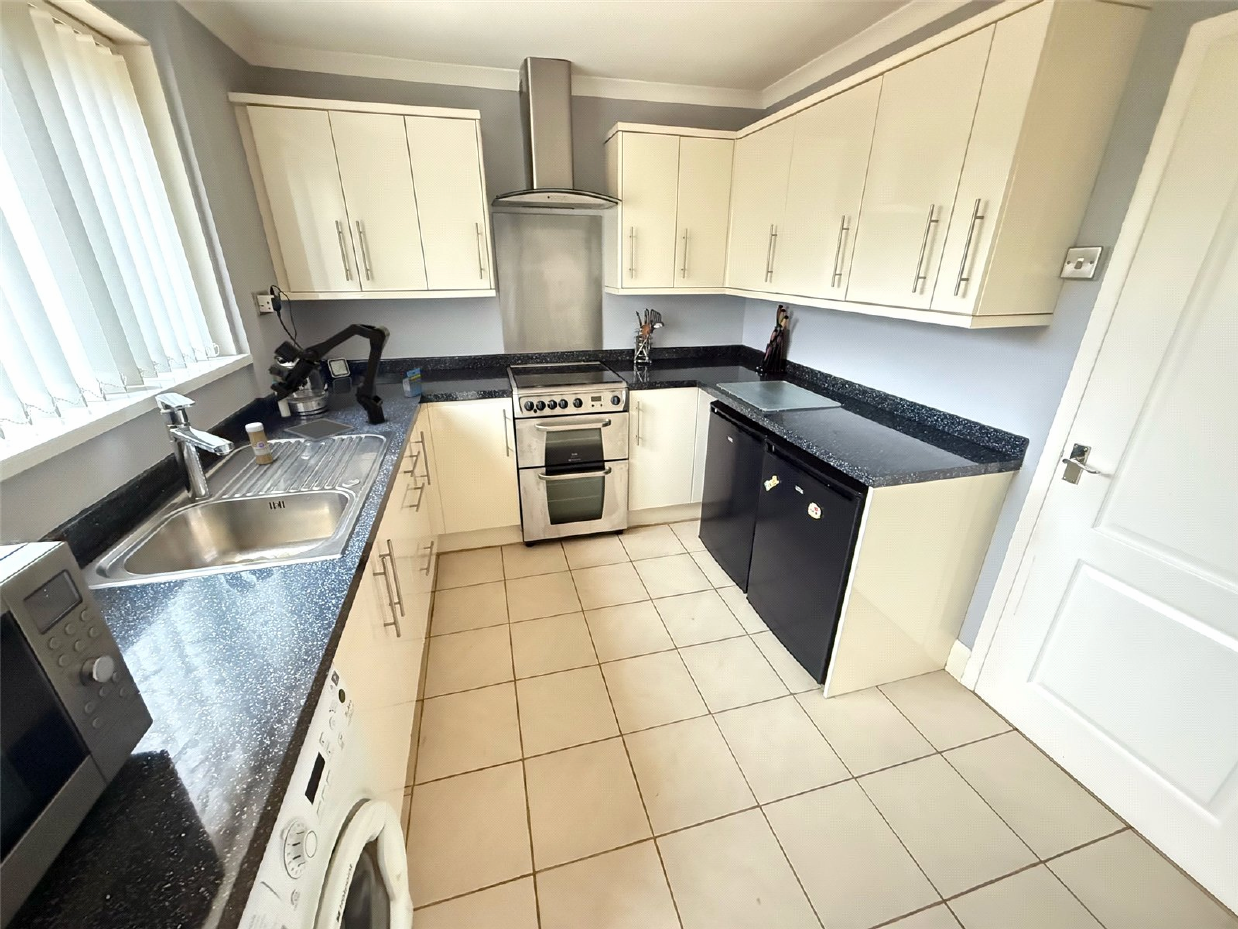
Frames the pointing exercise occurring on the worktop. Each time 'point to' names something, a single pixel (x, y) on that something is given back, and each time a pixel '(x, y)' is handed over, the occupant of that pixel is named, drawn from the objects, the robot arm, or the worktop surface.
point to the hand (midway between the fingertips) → (277, 399)
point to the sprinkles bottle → (259, 443)
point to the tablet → (319, 429)
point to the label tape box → (412, 384)
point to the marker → (284, 407)
